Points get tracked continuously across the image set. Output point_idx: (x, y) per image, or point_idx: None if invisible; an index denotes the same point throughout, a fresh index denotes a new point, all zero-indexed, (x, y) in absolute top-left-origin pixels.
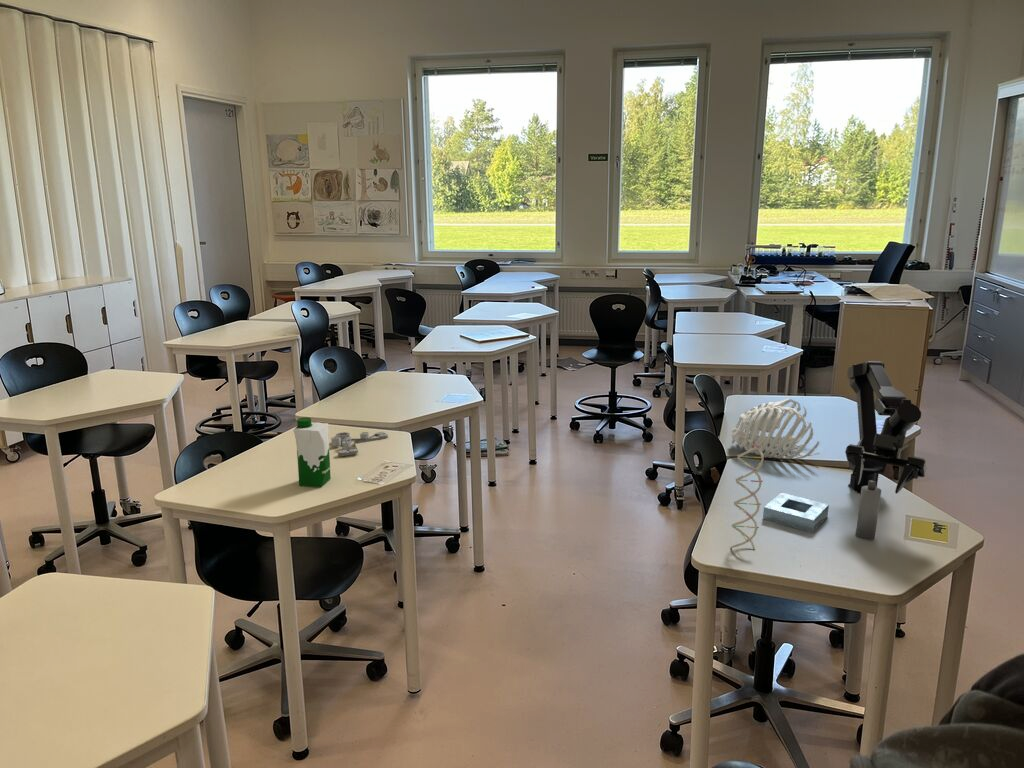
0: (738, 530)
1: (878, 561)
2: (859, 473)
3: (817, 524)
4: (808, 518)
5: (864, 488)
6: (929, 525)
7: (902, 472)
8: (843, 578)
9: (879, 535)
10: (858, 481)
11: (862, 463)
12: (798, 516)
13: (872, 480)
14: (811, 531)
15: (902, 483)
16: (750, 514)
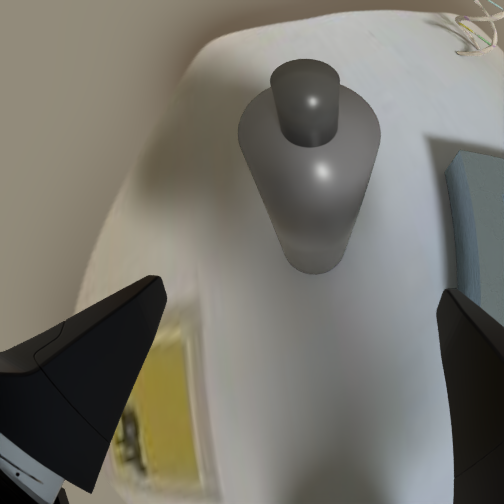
0: (492, 42)
1: None
2: (489, 337)
3: (456, 213)
4: (474, 155)
5: (353, 109)
6: (149, 450)
7: (31, 371)
8: (293, 32)
9: (273, 282)
10: (451, 292)
11: (501, 501)
12: (496, 158)
13: (312, 100)
14: (447, 170)
15: (87, 311)
16: (491, 15)
